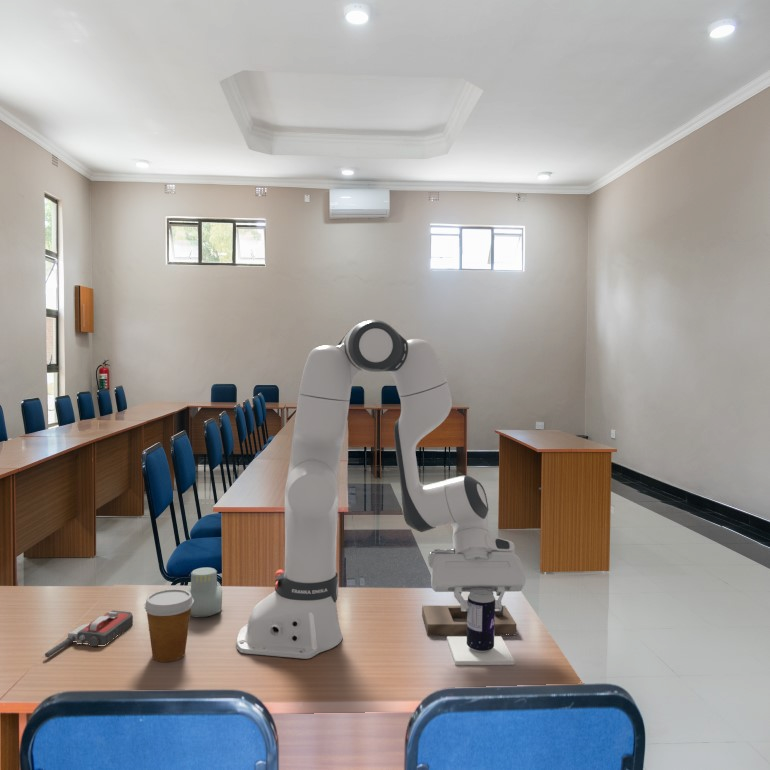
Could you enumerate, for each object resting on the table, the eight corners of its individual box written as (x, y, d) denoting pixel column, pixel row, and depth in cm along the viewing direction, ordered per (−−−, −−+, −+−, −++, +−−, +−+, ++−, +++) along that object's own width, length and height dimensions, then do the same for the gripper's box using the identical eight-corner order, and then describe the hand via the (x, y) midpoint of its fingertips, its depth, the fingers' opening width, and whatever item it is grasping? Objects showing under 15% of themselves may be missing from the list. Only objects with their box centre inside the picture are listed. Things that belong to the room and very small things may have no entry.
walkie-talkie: (102, 620, 142) (41, 662, 122) (102, 601, 142) (41, 640, 122) (138, 623, 140) (81, 666, 121) (138, 604, 140) (81, 644, 120)
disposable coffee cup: (189, 664, 121) (190, 604, 121) (138, 667, 120) (139, 607, 119) (196, 642, 131) (196, 587, 130) (149, 645, 129) (149, 588, 129)
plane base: (427, 635, 136) (427, 615, 136) (422, 615, 147) (422, 597, 147) (516, 635, 138) (516, 615, 137) (504, 615, 148) (505, 597, 148)
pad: (455, 665, 123) (455, 661, 123) (446, 640, 134) (446, 636, 134) (514, 664, 124) (514, 660, 124) (500, 639, 135) (501, 636, 135)
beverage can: (493, 656, 126) (495, 598, 125) (466, 653, 127) (467, 596, 126) (493, 643, 131) (495, 588, 131) (467, 641, 132) (468, 586, 132)
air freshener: (220, 620, 142) (221, 578, 142) (183, 623, 140) (183, 580, 140) (222, 602, 153) (222, 562, 152) (187, 604, 151) (187, 564, 150)
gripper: (428, 542, 135) (434, 604, 125) (520, 542, 136) (532, 603, 126) (426, 556, 139) (430, 616, 130) (514, 556, 140) (526, 615, 131)
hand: (481, 610), depth 128 cm, fingers closed on beverage can, 5 cm apart
